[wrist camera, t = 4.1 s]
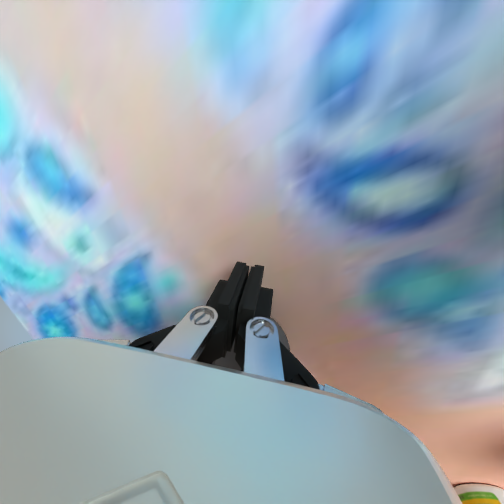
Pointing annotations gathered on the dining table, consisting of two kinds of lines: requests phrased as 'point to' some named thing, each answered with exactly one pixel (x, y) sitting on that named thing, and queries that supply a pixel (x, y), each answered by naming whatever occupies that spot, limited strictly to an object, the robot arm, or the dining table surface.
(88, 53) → the dining table surface
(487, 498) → the supplement bottle
